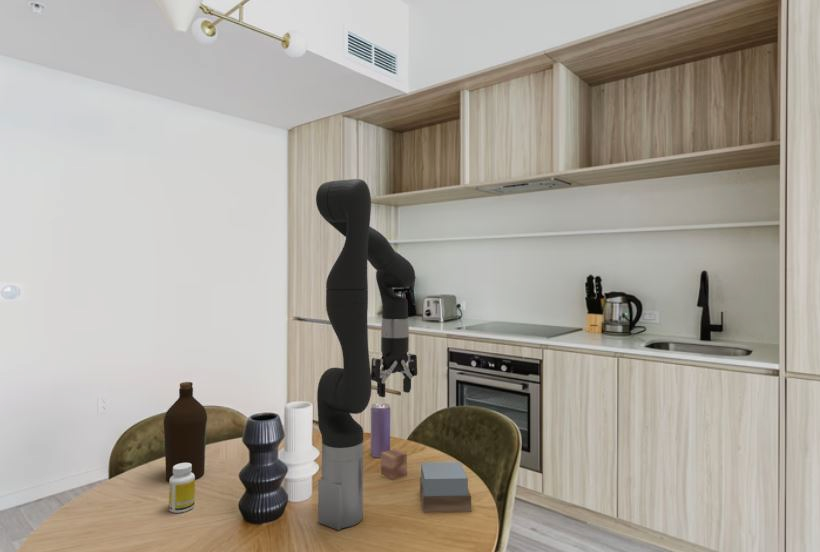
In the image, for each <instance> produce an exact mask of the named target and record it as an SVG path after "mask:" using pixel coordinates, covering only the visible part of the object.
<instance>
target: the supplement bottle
mask: <svg viewBox="0 0 820 552" xmlns="http://www.w3.org/2000/svg"><path fill="white" fill-rule="evenodd" d="M191 471H192V464H191V463H180V464H177V465H175V466H173V474H174V475H173V476H171V478H170V480H169V481H168V483H169V484H168V487H169V488H168V510H169V512H171V513H174V514H177V513H178V514H180V513H181V514H182V513H186V512H188V511H190V510H192V509H193V508H194V506H195V505H196V504H195V503H196V502H195V501H196V499H195V498H196V494H195V493H196V485H195V483H196V480H195V475H194V474H193V473H192V472H191Z"/></svg>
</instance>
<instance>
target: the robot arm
mask: <svg viewBox="0 0 820 552" xmlns="http://www.w3.org/2000/svg"><path fill="white" fill-rule="evenodd" d="M315 204H316V207H317V210H318V212H319V214H320V216H321V217H322V218H323V219H324V220H325V221H326V222H327V223H328V224H329V225H331V227H333V228H334V229H335V230H336V231H338V232H339V233H340V234H341V235H342V236H343V237H345V241H344V244H343V246H342V249H341V252H339V255H338V257H337V258H336V260H335V262H334V263H333V266H332V267H331V269H330V271H329V274H328V276H327V278H326V281H325V283H326V284H325V306H326V307H325V308H326V314H327V317H328V320H329V322H330V324H331V327H332V329H333V331H334V333H335V335H336V336H337V337H336V338H337V339H338V342H339V344H340V348H341V353H342V360H343V361H342V364H343V368H342V367H331V368H330V367H329V368H328V369H326V370H325V371H324V372H323V373H322V375H321V376H320V379H319V382H318V384H317V391H316V396H317V397H316V400H317V401H316V403H317V422H318V423H317V424H318V430H319V432H320V435H321V478H319V479H318V481H317V482H318V488H317V489H318V495H317V496H318V497H317V523H319V524H321V525H324V526H327V527H329V528H331V529H334V530H337V531H340V530H342V529H346V528H350V527H353V526H355V525H358V524H359V523H360V522H361V521H362V520H363V517H364V428H363V427H362V425H360V424H359V422H358V421H356V420H355V419H354V418H353V416H352V415H351V414H354V415H357V414H361V413H363V412H364V411H365V410H366V409H367V407H368V405H369V403H370V400H371V396H372V382H376V386H377V387H376V394H377V395H378V397H380V398H386V381H387V379H388V377H390V376H391V375H392V374H396V373H401V375H402V376H403V377H404V378H402V379H403V380H402V385H403V386H402V391H403V392H404V393H407V394H408V393H411V389H412V379H413V378H414V377H417V376H418V360H417V358H418V357H417V354H414V353H409V350H410V349H409V340H410V339H409V338H410V335H409V334H410V332H409V329H410V328H409V327H410V326H409V301H408V299H407V298H405V297H403V296H399V295H397V294H396V293H395V291H394V288H395V289H407V288H409V287H411V286H412V285H413V284H414V282H415V280H416V272H415V269H414V266H413V265H412V263H411V262H410V261H409V260H408V259H407V258H405V257H404V256H402V255H401V254H400V253H399V252H397V251H396V250H395V249H394V248H393V246H392V244H391V243H390V241H389V240H388V239H387V238H386V237H385V236H384V235H383V233H381V232H379V231H378V230H376V229H375V228H373V227H372V226H370V225H371V224H370V223H371V214H372V213H371V212H372V198H371V192H370V188H369V186H368V184H367V182H366V181H365V180H363V179H360V178H352V179H343V180H342V179H341V180H340V179H339V180H332V181H331V180H330V181H327V182H324V183H322V184H320V186H319V187H318V189H317V192H316V195H315ZM368 262H369V263H370V266H372V267H373V268H374V269H375V270H376V272H375V278H376V283H377V286H378V291H379V295H380V299H381V305H382V309H381V310H382V311H381V318H382V319H381V327H380V330H381V331H380V332H381V333H380V334H381V336H380V338H381V339H380V351H381V352H380V353H382V354H381V358H377V357H376V358H375V357H373V358H372V359H371V362H370V352H369V335H368V331H369V330H368V328H369V327H368V306H369V292H368V291H369V286H368V285H369V283H368ZM370 363H371V364H370ZM407 364H408V365H407Z"/></svg>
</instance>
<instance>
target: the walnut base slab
mask: <svg viewBox="0 0 820 552" xmlns="http://www.w3.org/2000/svg"><path fill="white" fill-rule="evenodd" d="M419 493H420V499H421V505H422V511H423V514H425V513H427V514H428V513H429V514H430V513H431V514H432V513H471V512H472V495H471V491H470V490H469V488H468V496H424V491H423V486H422V481H421V476H420V477H419Z"/></svg>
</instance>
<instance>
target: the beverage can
mask: <svg viewBox="0 0 820 552" xmlns="http://www.w3.org/2000/svg"><path fill="white" fill-rule="evenodd" d="M389 450H391V404H389V403H386V402H376V403H372V404H371V407H370V454H371V456H372V457H373V458H378V459H379V458H380V459H381V452H385V451H389Z"/></svg>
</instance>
